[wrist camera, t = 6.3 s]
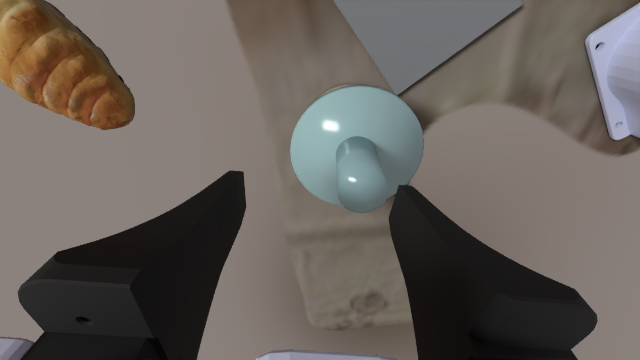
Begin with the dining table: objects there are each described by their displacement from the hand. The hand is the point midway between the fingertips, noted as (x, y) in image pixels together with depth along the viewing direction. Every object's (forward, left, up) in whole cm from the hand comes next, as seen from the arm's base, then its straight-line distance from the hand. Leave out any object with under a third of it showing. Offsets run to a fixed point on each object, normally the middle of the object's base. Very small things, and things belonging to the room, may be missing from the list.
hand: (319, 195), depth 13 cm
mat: (+2, -10, -11) cm, 15 cm away
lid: (-2, -1, -7) cm, 7 cm away
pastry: (+15, +12, -11) cm, 22 cm away
